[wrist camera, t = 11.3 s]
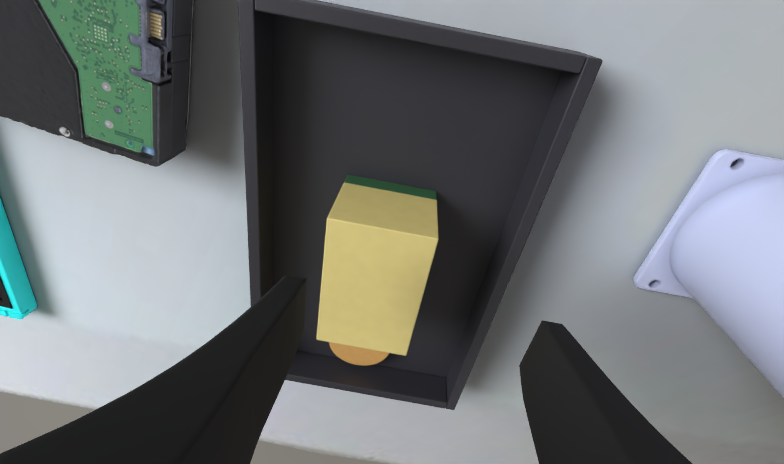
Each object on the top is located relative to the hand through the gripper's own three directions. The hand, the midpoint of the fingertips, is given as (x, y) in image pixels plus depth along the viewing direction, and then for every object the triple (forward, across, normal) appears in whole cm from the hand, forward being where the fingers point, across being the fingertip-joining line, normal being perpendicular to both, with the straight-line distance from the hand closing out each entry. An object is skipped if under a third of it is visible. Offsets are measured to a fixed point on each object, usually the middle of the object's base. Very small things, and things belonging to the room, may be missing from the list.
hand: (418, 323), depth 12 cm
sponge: (+9, +2, +3) cm, 9 cm away
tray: (+9, +2, +3) cm, 10 cm away
